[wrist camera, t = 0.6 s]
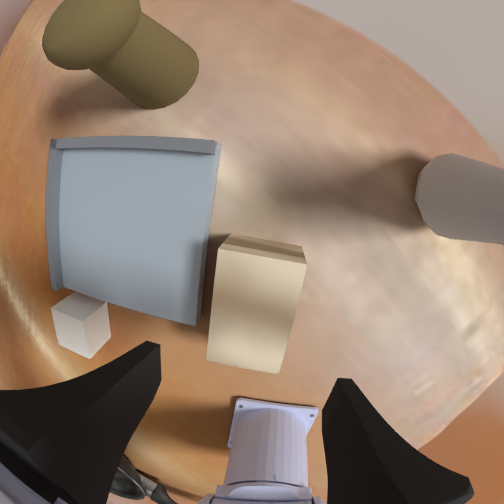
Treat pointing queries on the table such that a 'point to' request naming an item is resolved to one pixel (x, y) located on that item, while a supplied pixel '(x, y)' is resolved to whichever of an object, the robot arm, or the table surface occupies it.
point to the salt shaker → (462, 198)
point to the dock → (132, 220)
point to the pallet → (254, 302)
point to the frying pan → (137, 485)
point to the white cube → (81, 323)
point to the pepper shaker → (121, 49)
